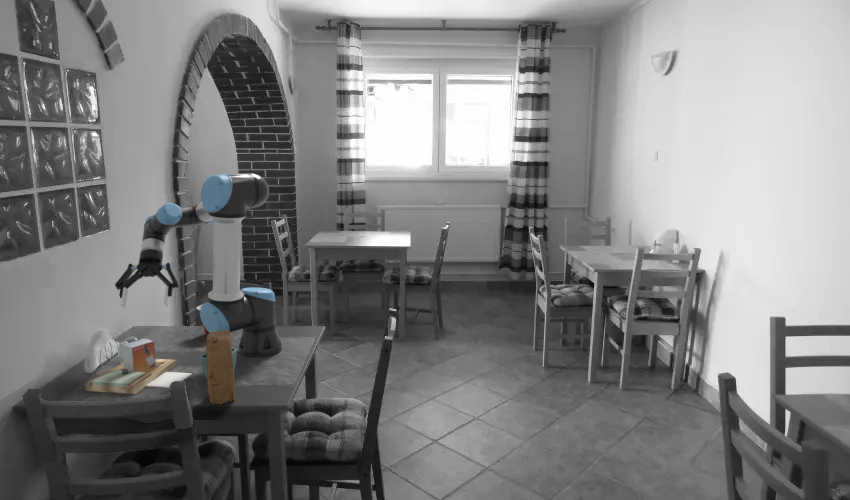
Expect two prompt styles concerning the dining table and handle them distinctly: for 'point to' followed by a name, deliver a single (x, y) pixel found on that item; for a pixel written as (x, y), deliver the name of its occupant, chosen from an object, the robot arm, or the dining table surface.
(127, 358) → the small box
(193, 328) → the dining table surface
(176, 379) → the white flat panel
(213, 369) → the block
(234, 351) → the flower pot
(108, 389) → the puzzle board
